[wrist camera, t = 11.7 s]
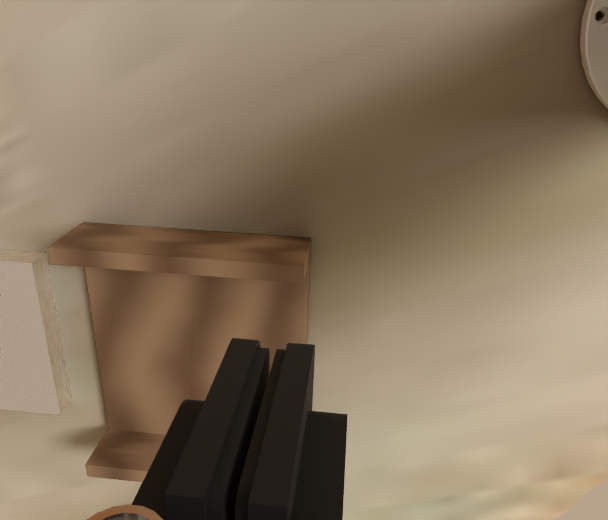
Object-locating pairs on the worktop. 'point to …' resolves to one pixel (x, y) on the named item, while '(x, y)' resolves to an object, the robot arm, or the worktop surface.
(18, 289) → the cover plate
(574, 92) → the worktop surface
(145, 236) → the walnut case
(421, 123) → the worktop surface
